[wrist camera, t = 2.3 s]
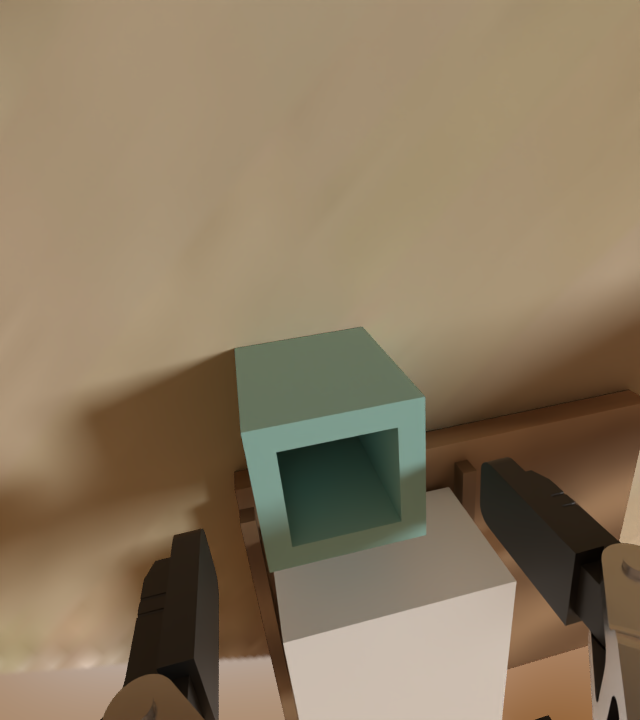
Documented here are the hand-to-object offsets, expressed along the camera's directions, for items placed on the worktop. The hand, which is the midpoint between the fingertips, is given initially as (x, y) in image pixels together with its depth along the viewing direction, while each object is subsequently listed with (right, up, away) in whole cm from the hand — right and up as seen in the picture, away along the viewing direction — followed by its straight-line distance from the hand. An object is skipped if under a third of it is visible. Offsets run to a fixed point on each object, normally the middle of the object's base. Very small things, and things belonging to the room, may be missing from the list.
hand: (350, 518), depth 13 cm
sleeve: (-1, +3, +6) cm, 7 cm away
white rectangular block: (+1, -6, +8) cm, 10 cm away
